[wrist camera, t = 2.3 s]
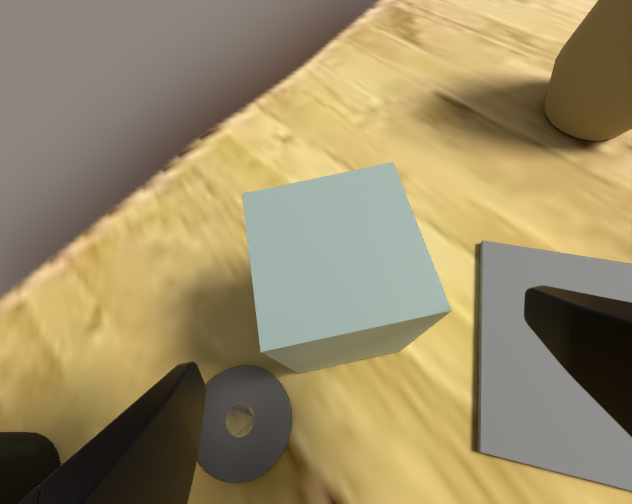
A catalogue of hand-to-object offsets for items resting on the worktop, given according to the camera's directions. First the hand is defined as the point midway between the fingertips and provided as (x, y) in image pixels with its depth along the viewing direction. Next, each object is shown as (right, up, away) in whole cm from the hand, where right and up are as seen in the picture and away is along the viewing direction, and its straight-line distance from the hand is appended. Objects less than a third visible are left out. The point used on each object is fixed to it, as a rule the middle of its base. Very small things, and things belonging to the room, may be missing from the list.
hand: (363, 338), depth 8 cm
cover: (0, -1, +11) cm, 11 cm away
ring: (-5, -7, +9) cm, 13 cm away
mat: (+14, -3, +9) cm, 17 cm away
